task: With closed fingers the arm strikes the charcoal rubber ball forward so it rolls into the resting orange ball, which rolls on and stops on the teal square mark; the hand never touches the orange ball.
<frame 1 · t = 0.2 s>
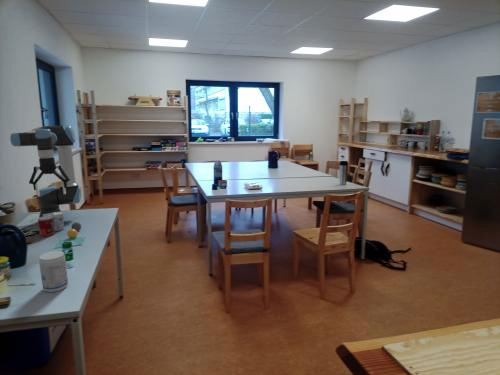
hand: (51, 194, 202), 28 cm above the table, tool pointing down, fingers open, 13 cm apart
supplement tub: (56, 287, 151), on the table
teal mark: (70, 242, 205), on the table
canned food: (47, 235, 219), on the table
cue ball: (76, 226, 225), on the table
orange ball: (72, 233, 212), on the table
light bulb box: (54, 230, 228), on the table
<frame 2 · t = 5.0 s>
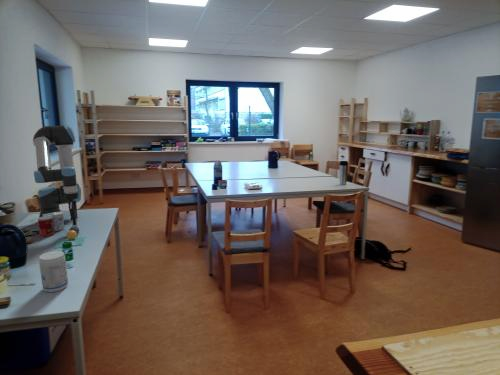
hand: (75, 229, 222), 2 cm above the table, tool pointing down, fingers closed
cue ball: (74, 230, 217), on the table
orange ball: (71, 235, 209), on the table
everything else where it was.
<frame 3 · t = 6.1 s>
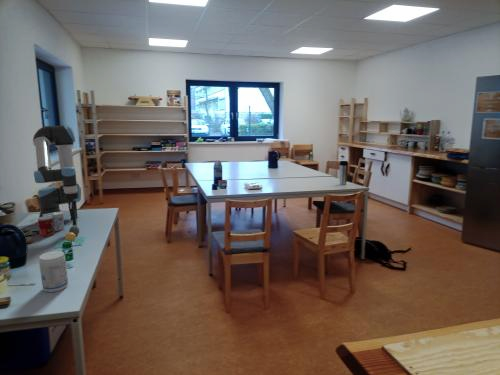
hand: (75, 229, 222), 2 cm above the table, tool pointing down, fingers closed
orange ball: (70, 237, 206), on the table
everything else where it was.
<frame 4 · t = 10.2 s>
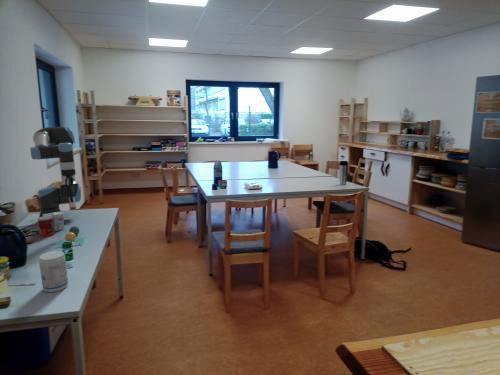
hand: (72, 206, 219), 16 cm above the table, tool pointing down, fingers closed
nothing on the table moved.
at the end: orange ball 1.7 cm from the teal mark (horizontally); orange ball never touched the robot; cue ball first touched orange ball at 4.7 s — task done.
